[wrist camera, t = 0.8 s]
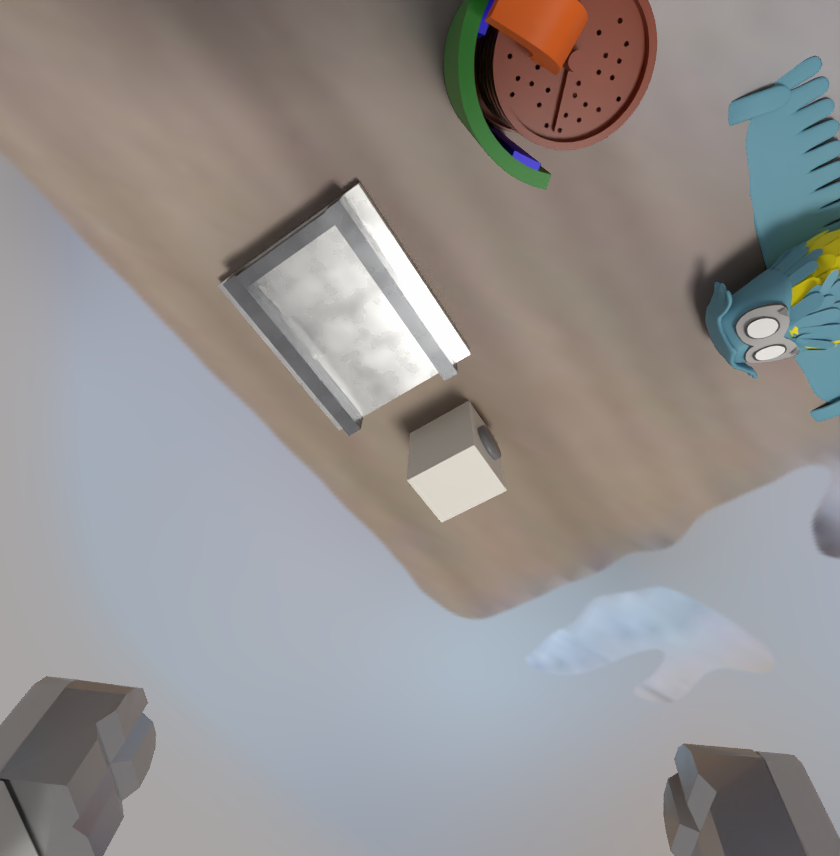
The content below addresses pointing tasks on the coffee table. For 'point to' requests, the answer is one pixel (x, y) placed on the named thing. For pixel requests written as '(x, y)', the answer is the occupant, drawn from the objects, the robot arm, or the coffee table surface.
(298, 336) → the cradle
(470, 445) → the cream rectangular block
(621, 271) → the coffee table surface
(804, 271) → the owl figurine
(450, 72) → the motor
